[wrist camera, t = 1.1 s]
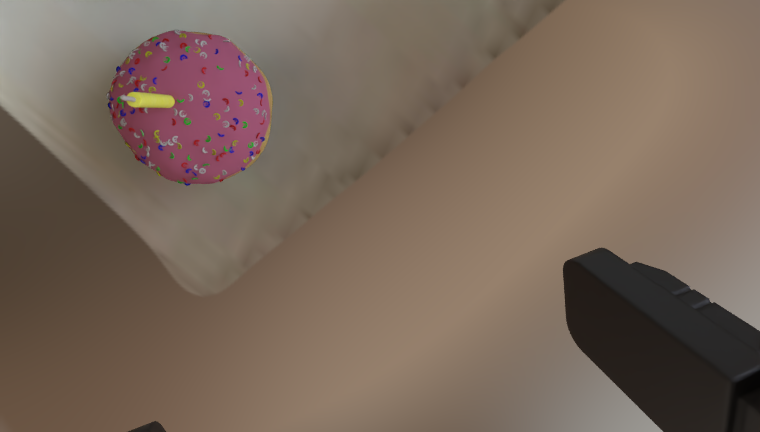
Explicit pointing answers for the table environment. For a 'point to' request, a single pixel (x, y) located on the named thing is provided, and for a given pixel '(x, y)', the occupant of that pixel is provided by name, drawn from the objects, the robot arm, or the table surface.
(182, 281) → the table surface
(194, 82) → the cupcake
